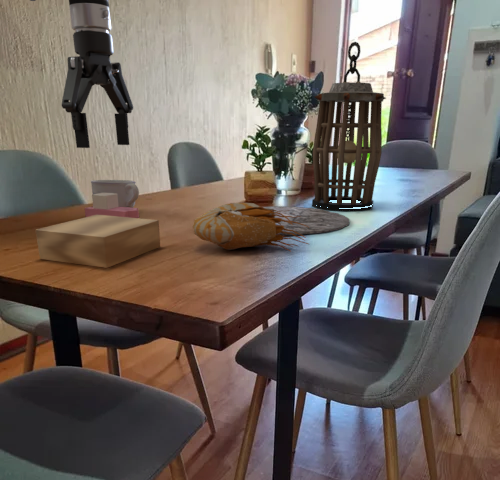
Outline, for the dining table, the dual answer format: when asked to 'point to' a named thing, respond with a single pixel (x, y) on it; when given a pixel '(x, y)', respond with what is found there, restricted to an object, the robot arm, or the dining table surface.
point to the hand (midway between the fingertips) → (104, 146)
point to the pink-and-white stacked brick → (109, 207)
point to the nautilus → (242, 226)
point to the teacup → (118, 190)
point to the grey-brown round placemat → (309, 220)
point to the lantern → (347, 143)
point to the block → (98, 240)
